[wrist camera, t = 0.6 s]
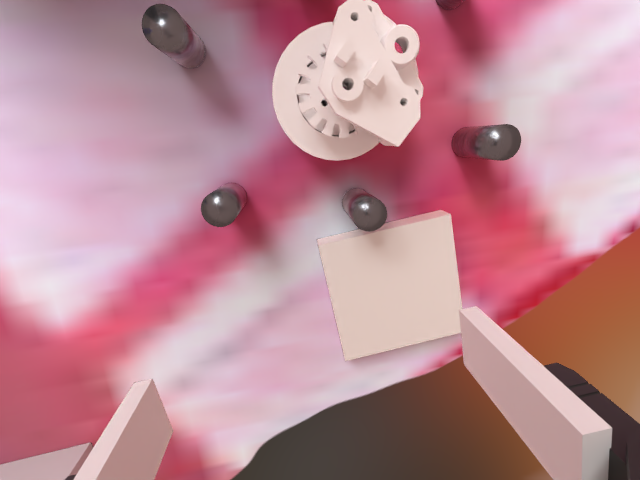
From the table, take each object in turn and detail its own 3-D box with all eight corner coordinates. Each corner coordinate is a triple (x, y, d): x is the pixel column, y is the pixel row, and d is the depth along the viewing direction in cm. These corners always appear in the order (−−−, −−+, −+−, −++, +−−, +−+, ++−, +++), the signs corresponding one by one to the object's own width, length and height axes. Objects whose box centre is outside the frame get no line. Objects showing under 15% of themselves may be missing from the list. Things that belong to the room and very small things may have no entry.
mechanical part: (251, 85, 34) (232, 57, 23) (354, 6, 33) (388, -63, 22) (318, 181, 37) (331, 199, 26) (415, 112, 36) (473, 99, 25)
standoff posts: (154, -7, 32) (117, -47, 25) (459, -75, 32) (504, -133, 25) (231, 245, 38) (219, 267, 32) (483, 185, 39) (524, 195, 32)
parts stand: (316, 239, 39) (318, 245, 36) (440, 209, 39) (450, 214, 37) (342, 348, 43) (345, 361, 40) (455, 321, 43) (465, 331, 41)
